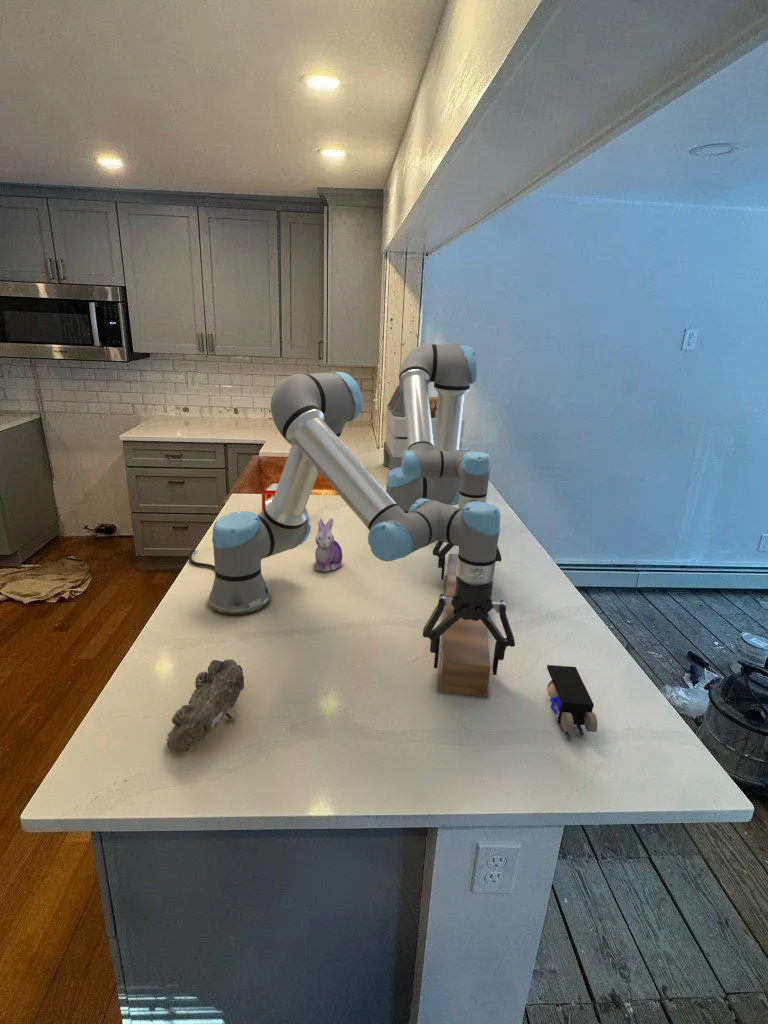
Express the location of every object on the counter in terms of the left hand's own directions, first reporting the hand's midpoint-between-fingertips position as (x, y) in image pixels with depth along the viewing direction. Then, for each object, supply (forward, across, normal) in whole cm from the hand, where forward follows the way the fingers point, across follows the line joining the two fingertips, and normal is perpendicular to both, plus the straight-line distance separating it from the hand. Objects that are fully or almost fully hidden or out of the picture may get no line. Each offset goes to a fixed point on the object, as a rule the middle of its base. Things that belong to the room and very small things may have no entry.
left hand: (464, 668), depth 122 cm
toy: (+2, -68, +87) cm, 110 cm away
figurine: (+2, -41, +48) cm, 63 cm away
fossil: (+2, -48, -22) cm, 53 cm away
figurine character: (+2, +20, -10) cm, 22 cm away
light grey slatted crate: (+2, -21, +160) cm, 161 cm away
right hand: (0, 0, +43) cm, 43 cm away
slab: (+2, 0, +22) cm, 22 cm away
